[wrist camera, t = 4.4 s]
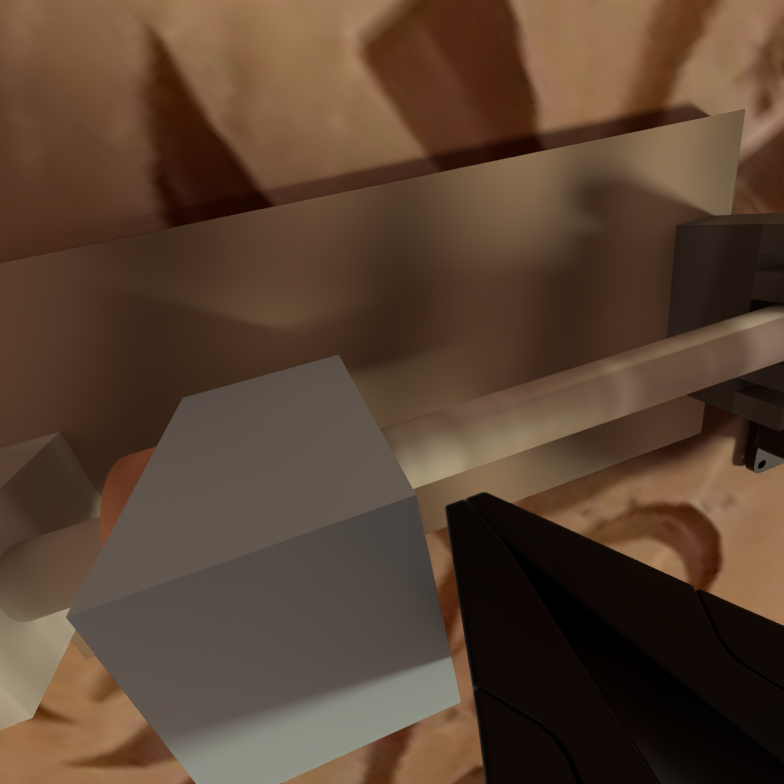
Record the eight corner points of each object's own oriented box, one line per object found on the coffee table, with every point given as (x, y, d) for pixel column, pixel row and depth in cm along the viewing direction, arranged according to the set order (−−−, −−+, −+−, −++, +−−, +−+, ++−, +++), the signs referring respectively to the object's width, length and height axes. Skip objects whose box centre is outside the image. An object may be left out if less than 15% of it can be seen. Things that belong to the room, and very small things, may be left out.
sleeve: (338, 354, 11) (416, 495, 5) (373, 487, 13) (460, 701, 7) (183, 397, 10) (66, 617, 4) (243, 531, 12) (218, 811, 6)
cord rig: (714, 116, 14) (1032, 34, 8) (680, 423, 19) (862, 508, 13) (-154, 297, 9) (-810, 397, 4) (97, 632, 14) (-18, 898, 9)
